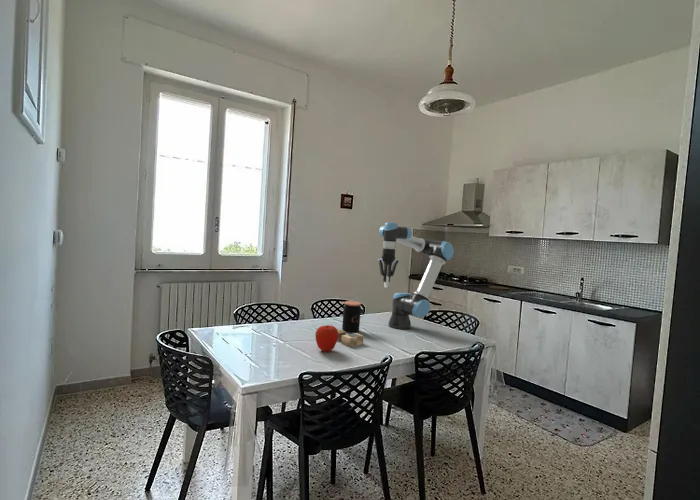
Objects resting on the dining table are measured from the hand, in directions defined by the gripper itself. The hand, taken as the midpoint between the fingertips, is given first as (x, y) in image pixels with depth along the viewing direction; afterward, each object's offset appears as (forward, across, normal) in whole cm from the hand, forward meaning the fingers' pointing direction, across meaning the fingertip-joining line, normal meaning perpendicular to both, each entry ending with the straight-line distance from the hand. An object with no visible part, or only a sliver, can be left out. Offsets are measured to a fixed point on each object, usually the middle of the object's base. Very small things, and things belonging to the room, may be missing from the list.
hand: (386, 287), depth 237 cm
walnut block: (+28, +27, +6) cm, 40 cm away
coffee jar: (+31, +16, -13) cm, 37 cm away
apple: (+31, +41, +22) cm, 56 cm away
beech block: (+28, +18, +10) cm, 35 cm away
